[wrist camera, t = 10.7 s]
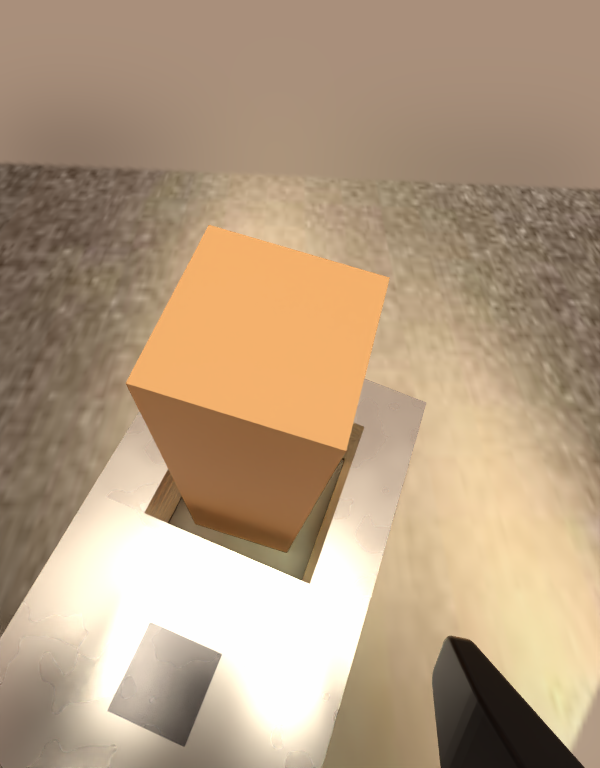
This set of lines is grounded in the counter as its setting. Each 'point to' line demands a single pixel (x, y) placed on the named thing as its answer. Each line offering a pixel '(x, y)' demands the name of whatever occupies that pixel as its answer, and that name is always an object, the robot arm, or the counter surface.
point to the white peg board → (197, 621)
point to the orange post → (257, 381)
